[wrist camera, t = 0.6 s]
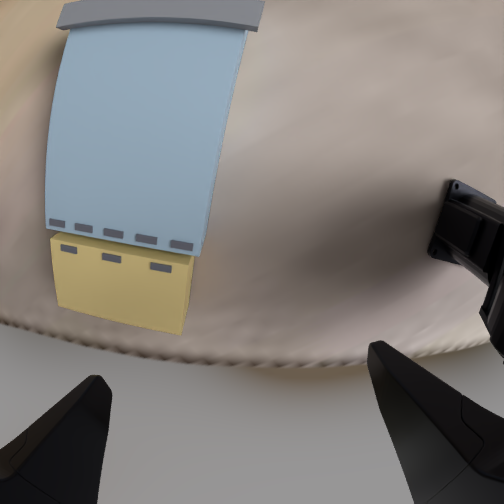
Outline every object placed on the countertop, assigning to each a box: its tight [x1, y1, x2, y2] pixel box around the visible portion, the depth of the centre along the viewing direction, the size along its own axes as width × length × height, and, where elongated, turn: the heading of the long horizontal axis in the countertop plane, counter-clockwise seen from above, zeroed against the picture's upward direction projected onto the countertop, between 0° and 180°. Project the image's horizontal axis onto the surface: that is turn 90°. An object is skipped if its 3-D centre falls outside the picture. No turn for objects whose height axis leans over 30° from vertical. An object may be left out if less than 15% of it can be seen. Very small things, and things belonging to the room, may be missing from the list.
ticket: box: [45, 0, 265, 257], centre depth 13 cm, size 11×14×4 cm
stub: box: [50, 231, 195, 335], centre depth 17 cm, size 9×5×4 cm, turn 78°
